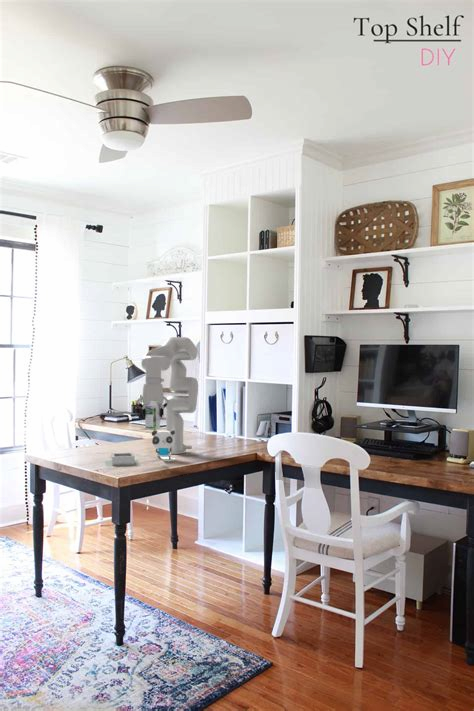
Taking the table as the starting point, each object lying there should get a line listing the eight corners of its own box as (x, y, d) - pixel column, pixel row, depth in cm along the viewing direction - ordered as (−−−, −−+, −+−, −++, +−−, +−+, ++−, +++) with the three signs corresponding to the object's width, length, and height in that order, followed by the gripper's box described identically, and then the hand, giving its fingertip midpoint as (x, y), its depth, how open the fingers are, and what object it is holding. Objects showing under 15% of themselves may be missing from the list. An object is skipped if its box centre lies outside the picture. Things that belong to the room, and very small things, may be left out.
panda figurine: (149, 461, 307) (150, 431, 307) (153, 457, 318) (154, 428, 318) (173, 461, 306) (173, 432, 306) (176, 457, 318) (176, 429, 318)
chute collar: (132, 460, 298) (132, 452, 298) (134, 464, 288) (134, 456, 288) (111, 461, 296) (111, 453, 296) (112, 465, 286) (112, 457, 286)
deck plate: (137, 463, 301) (137, 460, 301) (140, 468, 287) (140, 465, 287) (105, 464, 297) (105, 461, 297) (106, 469, 283) (106, 466, 283)
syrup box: (144, 429, 295) (144, 400, 295) (150, 428, 300) (150, 399, 300) (154, 430, 293) (155, 400, 293) (160, 429, 298) (160, 399, 298)
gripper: (169, 380, 302) (169, 415, 303) (134, 380, 298) (134, 416, 298) (172, 381, 295) (171, 417, 295) (136, 381, 291) (135, 418, 291)
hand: (152, 416), depth 297 cm, fingers closed on syrup box, 7 cm apart
